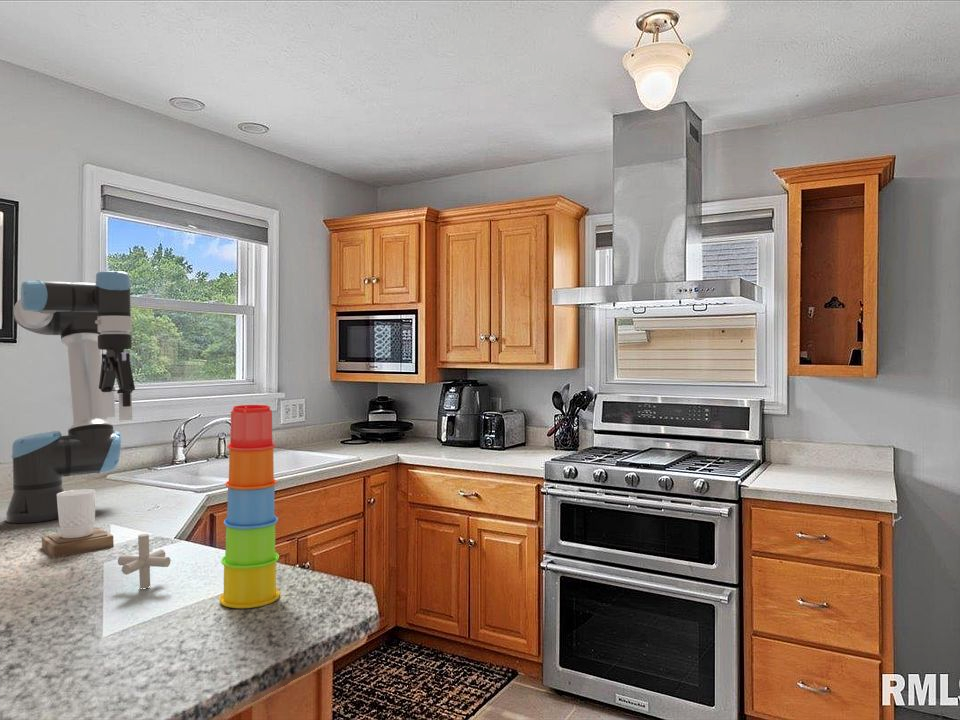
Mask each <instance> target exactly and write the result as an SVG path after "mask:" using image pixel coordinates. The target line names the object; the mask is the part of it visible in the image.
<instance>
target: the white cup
mask: <svg viewBox="0 0 960 720" xmlns="http://www.w3.org/2000/svg"><path fill="white" fill-rule="evenodd" d="M96 494H97V493H96V489H93V488H92V489H91V488H83V489H82V488H80V489H70V490H66V491H65V490H64V492H60V493H58V494H57V507H58V518H57V519H58V525H59V530H60V531H59V534H61V537H62V538H79V537H85V536H89V535H91V534H93V533H94V528H95V521H96Z"/></svg>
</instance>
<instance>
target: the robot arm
mask: <svg viewBox="0 0 960 720" xmlns="http://www.w3.org/2000/svg"><path fill="white" fill-rule="evenodd" d="M130 282H131V280H130V276H129V274H128V273H127V272H125V271H121V270H120V271H116V270H101V271H98V272H97V273H96V274H95V282H74V281H73V282H71V281H70V282H69V281H68V282H67V281H50V280H49V281H48V280H47V281H46V280H38V279H36V280H25V281H23V282H21V285H20V299H18V300H17V301H16V303H15V304H14V305H13V308H12V309H13V310H12V316H13V319H14V321H15V322H16V323H17V324H18V326H20V327H21V328H23V329H24V330H26V331H29V332H32V333H35V334H38V335H46V336H60V341H61V343H63V345H65V346H67V354H68V356H67V357H68V368H69V370H68V371H69V382H70V392H71V393H70V396H71V408H72V421H73V424H72V425H71V426H70V427H69V428H68V430H67V432H68V433H67V434H68V435H62V433H61V431H60V430H53V431H45V432H38V433H34V434H29V435H25V436H22V437H19V438H17V439H15V440H14V441H13V442H12V447H11V448H12V449H11V450H12V451H11V452H12V454H11V459H12V486H13V491H12V495H11V498H10V502H9V504H8V507H7V510H6V514H5V515H6V517H5V518H6V523H10V524H28V523H39V522H45V521H52V520H58V519H59V518H58V507H57V494H58V493H60V492H64V491H65V490H64V488H63V478H65V477H74V476H81V475H82V476H83V475H90V474H101V473H106V472H111V471H114V470H115V469H116V468H117V466H118V464H119V461H120V455H121V449H122V447H121V446H122V437H121V433H120V432H119V431H117V430H114V425H113V424H112V423H110V421H108V420H107V418H115V417H116V411H115V409H116V406H115V405H116V403H115V392H116V394H118V414H119V415H118V417H119V419H118V420H119V421H121V422H122V421H123V422H124V421H132V420H133V403H132V398H133V397H132V393H133V391H135V390H136V386H135V382H134V377H133V372H132V366H131V361H130V360H131V359H130V352H127V351H126V352H125V350H130V349H132V347H133V345H132V344H133V342H132V335H131V334H130V333H132V330H133V329H132V313H131V311H132V310H131V309H132V307H131V283H130ZM102 350H103V351H104V350H105V351H106V352H104V353H101V352H102ZM115 381H116V383H117V386H118V389H117V390H116V388H115Z"/></svg>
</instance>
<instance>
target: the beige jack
mask: <svg viewBox="0 0 960 720" xmlns="http://www.w3.org/2000/svg"><path fill="white" fill-rule="evenodd" d="M137 536H138V537H137V540H138V541H137V542H138V543H137V544H138V555H124V554H123V555H120V556H118V559H117V565H119V566H122V567H121V573H122V574H124V576H125V575H126V576H127V575H129V574H131V573H133V572H137V571H138V572H139V575H138V576H139V578H138V579H139V589H140V588H142V589H141V590H144V589H143V588H148V587H149V586H150V587H151V567H158V568H159V567H161V568H168V567H169V566H170V564H171V562H172V561H171V558H170V557H169V556H166V552H165V550H164V549H158V550H156V551H154V552H151V553H150V535H149V534H148V533H142V534H138V535H137ZM148 589H149V588H148Z"/></svg>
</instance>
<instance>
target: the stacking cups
mask: <svg viewBox="0 0 960 720" xmlns="http://www.w3.org/2000/svg"><path fill="white" fill-rule="evenodd" d="M232 408H233V409H232V410H231V411H230V439H229V441H230V442H229V444H227V445H226V447H227V449H228V450H229V454H228V455H229V457H228V459H229V460H228V461H229V462H228V464H229V465H228V480H227V481H226V482H225V487H226V488H227V504H226V505H227V511H226V514H227V515H226V519H224V521H223V525H224V526H225V554H224V556H223V557H222V558H221V560H220V561H221V565H222V566H223V593H222V594H220V595H219V598H218V600H219V603H220V604H221V605H222V606H224V607H227V608H231V609H253V608H260V607H263V606H267V605H269V604H271V603H274V602H276V601H277V600H278V599H279V598H280V596H281V595H280V593H281V592H280V590H279V589H278V588H277V576H276V575H277V574H276V573H277V571H276V569H277V568H276V567H277V564H276V563H277V562H278V561H279V559H280V555H279V554H278V553H277V551H276V523H277V522H278V521H279V518H278V517H277V516H276V515H275V513H276V512H275V509H276V508H275V506H276V505H275V504H276V503H275V498H276V497H275V494H276V493H275V490H276V489H275V488H276V487H275V485H277V483H278V482H277V480H276V479H275V478H274V448H275V447H276V443H274V442H273V411H272V409H271V406H270V405H267V404H266V405H264V404H244V405H243V404H241V405H235V406H233V407H232Z"/></svg>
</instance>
